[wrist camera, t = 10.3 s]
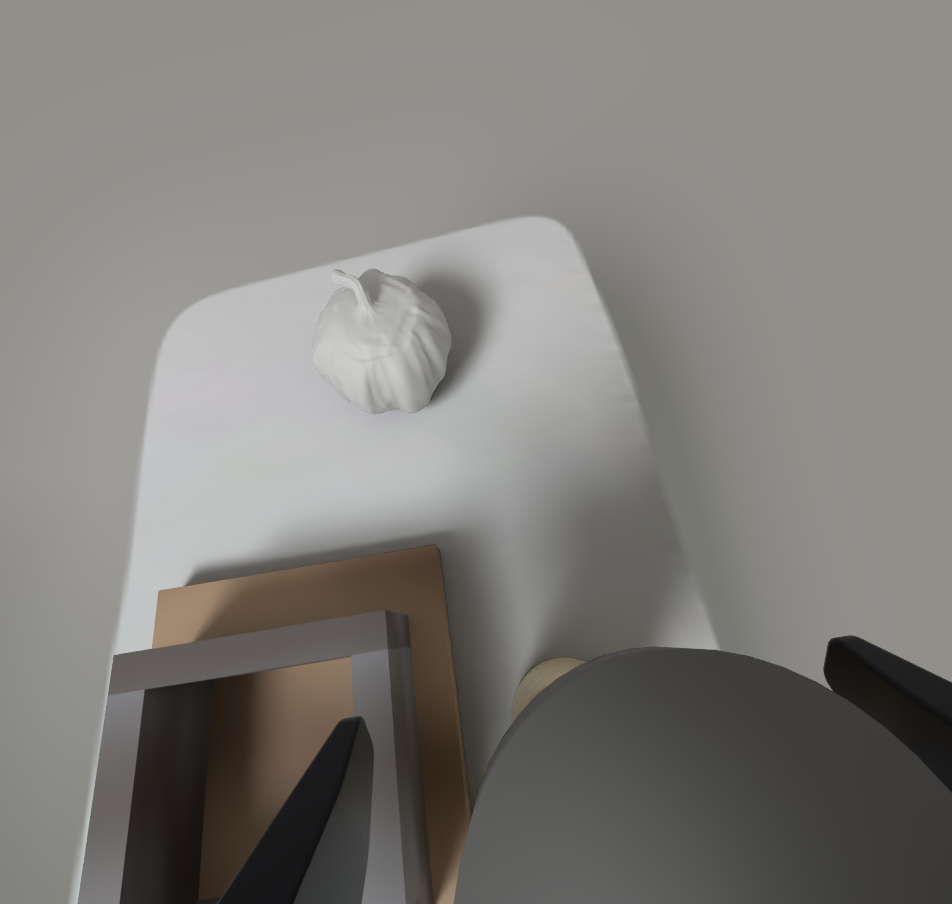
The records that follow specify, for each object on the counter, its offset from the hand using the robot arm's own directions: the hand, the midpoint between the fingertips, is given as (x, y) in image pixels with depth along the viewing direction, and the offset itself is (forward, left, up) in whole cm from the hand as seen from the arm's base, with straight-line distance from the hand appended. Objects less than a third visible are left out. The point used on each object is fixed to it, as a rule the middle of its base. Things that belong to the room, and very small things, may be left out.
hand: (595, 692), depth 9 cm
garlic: (+13, +5, -7) cm, 15 cm away
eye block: (-1, +9, -7) cm, 11 cm away
